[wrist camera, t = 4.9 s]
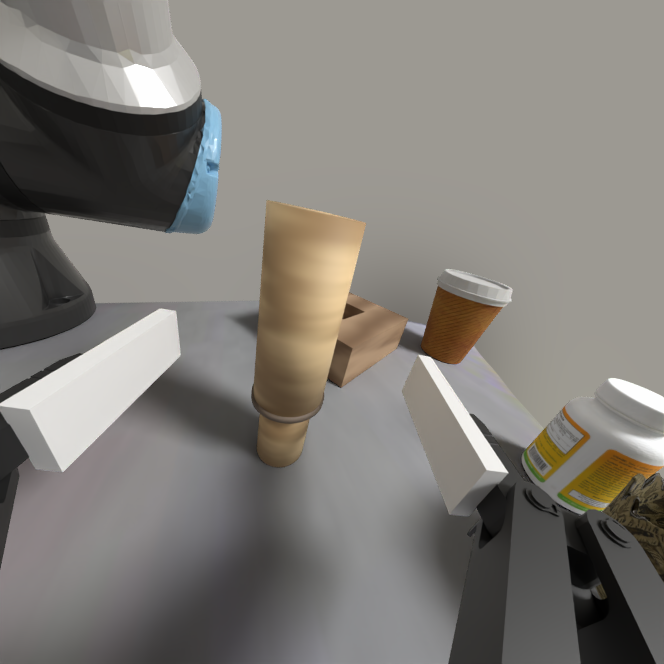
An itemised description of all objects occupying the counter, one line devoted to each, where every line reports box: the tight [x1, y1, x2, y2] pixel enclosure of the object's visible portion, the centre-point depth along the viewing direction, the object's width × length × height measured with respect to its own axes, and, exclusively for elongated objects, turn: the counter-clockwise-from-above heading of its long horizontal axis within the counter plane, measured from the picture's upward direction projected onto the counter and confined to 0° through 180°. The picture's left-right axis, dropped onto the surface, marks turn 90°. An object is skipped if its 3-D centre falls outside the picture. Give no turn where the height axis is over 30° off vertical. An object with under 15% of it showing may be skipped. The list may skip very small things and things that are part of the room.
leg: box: [251, 200, 366, 467], centre depth 14 cm, size 5×5×16 cm
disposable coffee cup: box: [421, 269, 512, 364], centre depth 35 cm, size 10×10×12 cm
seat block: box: [327, 292, 408, 387], centre depth 32 cm, size 14×14×5 cm
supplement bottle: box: [522, 378, 664, 515], centre depth 18 cm, size 5×5×10 cm
